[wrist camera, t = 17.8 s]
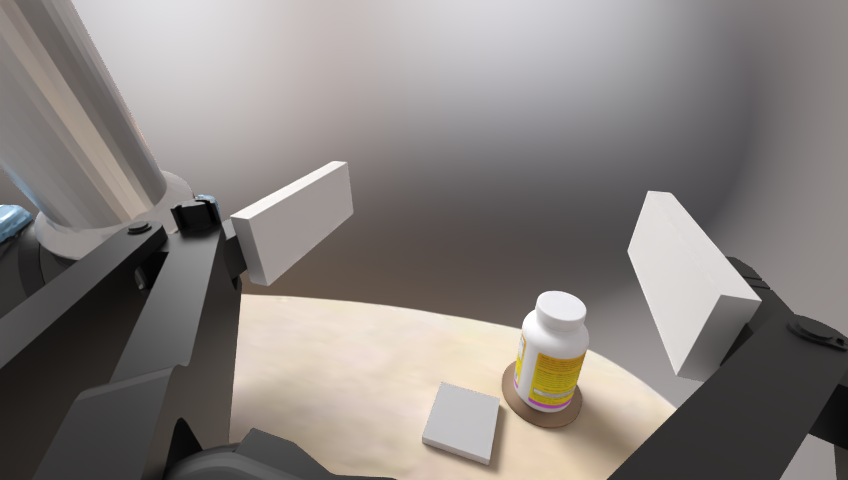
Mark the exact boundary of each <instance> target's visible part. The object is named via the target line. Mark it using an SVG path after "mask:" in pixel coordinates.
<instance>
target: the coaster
mask: <svg viewBox="0 0 848 480" xmlns="http://www.w3.org/2000/svg"><path fill="white" fill-rule="evenodd" d="M516 362H517V361H515V362H513V363H512V364H510V365H509V366H508V367H507V369H506V370H505V372H504V374H503V378H502V391H503V395H504V397H505V400H506V401H507V403H508V405H509V406H510V407H511V409H512V410H513V411H514V412H515V413H516V414H518V415H519V416H520V417H521V418H523V419H524V420H526V421H528V422H530V423H532V424H535V425H537V426H541V427H547V428H557V427H562V426H565V425H567V424H569V423H571V422H572V421H573V420H574V419H575V418H576V417H577V415H578V413H579V410H580V407H581V394H580V390H579V388H578V386H577V384H576V387H575V390H574V394H573V397H572V399H571V402H570V403H569V405H568V406H567V407H566V408H564V409H563V410H561V411H558V412H543V411H539V410H536V409H534V408H532V407H531V406H529V405H528V404H526V403H525V402H524V401H523V400H522V399H521V398H520V396H519V395H518V393H517V391H516V389H515V386H514V373H515V367H516Z"/></svg>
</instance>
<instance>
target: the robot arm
mask: <svg viewBox="0 0 848 480" xmlns="http://www.w3.org/2000/svg"><path fill="white" fill-rule="evenodd" d="M0 169H1V170H2V171H3V172H4V173H5V174H6V176H8V178H9V179H10V180H11V181H12V182H13V183H14V184H15V185H17V187H18V188H19V189H20V190H21V191H22V192H23V193H24V194H25V195H26V196H27V197H28V198H29V199H30V200H31V201H32V202H33V203H34V204H35V205H36V206H37V207H38V208H39V210H40V212H39V214H38V215H37V218H36V221H33V219H32V218H33V215H32V214H31V213H29V212H27V211H26V210H25V209H24V208H22V207H20V206H17V205H10V206H8V205H0V480H396V479H393V478H386V477H366V476H345V475H335V474H332V473H330V472H329V471H327V470H326V469H325V468H324V467H323V466H321V465H320V464H319V463H318V462H317V461H315V460H314V459H313V458H312V457H311V456H309V455H308V454H307V453H306V452H305V451H303V450H302V449H301V448H300V447H299V446H297V445H296V444H295V443H293V442H291V441H288V440H285V439H282V438H280V437H277V436H274V435H271V434H268V433H266V432H263V431H260V430H257V429H255V428H252V429H251V431H250V432H249V433H248V434H247V436H246V437H245V438H244V440H243V441H242V442H241V443H235V444H229V443H228V441H229V427H230V415H231V404H232V393H233V381H234V370H235V359H236V347H237V336H238V325H239V313H240V302H241V291H242V281H241V278H240V274H241V273H242V272H244V271H245V270H246V269H247V271H248V274H249V277H250V280H251V283H256V284H261V285H265V286H269V285H270V284H271V283H272V282H274V281H275V280H276V279H277V278H278V277H279V276H281V274H283V273H284V272H285V271H286V270H287V269H289V268H290V267H291V266H292V265H293V264H295V263H296V262H297V261H298V260H299V259H300V258H302V257H303V256H304V255H305V254H306V253H307V252H309V251H310V250H311V249H312V248H313V247H314V246H316V245H317V244H318V243H319V242H320V241H321V240H323V239H324V238H325V237H326V236H327V235H328V234H330V233H331V232H332V231H333V230H334V229H335V228H336V227H338V226H339V225H340V224H341V223H342V222H344V221H345V220H346V219H347V218H348V217H350V216H351V215H352V214H353V205H352V198H351V189H350V181H349V172H348V164H347V162H339V161H333V162H331V163H329V164H327V165H325V166H324V167H322V168H320V169H318V170H316V171H314V172H312V173H310V174H308V175H306V176H305V177H303V178H301V179H299V180H297V181H295V182H293V183H292V184H290V185H288V186H286V187H284V188H282V189H280V190H278V191H277V192H275V193H273V194H271V195H269V196H267V197H265V198H263V199H261V200H260V201H258V202H256V203H254V204H252V205H250V206H248V207H247V208H245V209H243V210H241V211H239V212H237V213H236V214H233V215H231V216H230V218H229V219H228V220H226V221H224V222H221V217H220V212H219V207H218V204H217V201H216V200H215V198H214V197H212V196H204V195H198V196H197V197H195V196H194V194H193V192H192V190H191V189H190V187H189V185H188V184H187V183H186V182H185V181H184V180H183V179H181V178H180V177H178V176H176V175H174V174H172V173H169V172H166V171H162V170H161V169H160V168H159V166H158V164H157V162H156V160H155V158H154V156H153V154H152V153H151V151H150V149H149V147H148V145H147V143H146V142H145V139H144V137H143V136H142V134H141V132H140V130H139V128H138V126H137V124H136V123H135V120H134V119H133V117H132V115H131V113H130V111H129V109H128V107H127V105H126V103H125V102H124V100H123V98H122V96H121V94H120V92H119V90H118V88H117V86H116V85H115V83H114V81H113V79H112V77H111V75H110V73H109V71H108V70H107V68H106V66H105V64H104V62H103V60H102V58H101V56H100V54H99V53H98V51H97V49H96V47H95V45H94V43H93V41H92V39H91V37H90V36H89V34H88V32H87V30H86V28H85V26H84V24H83V23H82V20H81V19H80V17H79V15H78V13H77V11H76V9H75V7H74V5H73V4H72V2H71V0H0ZM628 254H629V256H630V259H631V261H632V264H633V267H634V269H635V272H636V274H637V277H638V279H639V282H640V284H641V287H642V290H643V292H644V295H645V297H646V300H647V303H648V305H649V308H650V310H651V313H652V315H653V318H654V320H655V323H656V326H657V328H658V330H659V333H660V336H661V338H662V341H663V343H664V346H665V348H666V351H667V354H668V356H669V359H670V361H671V364H672V366H673V369H674V371H675V374H676V376H679V377H683V378H688V379H693V380H698V381H702V382H705V383H704V384H703V385H702V386H701V387H699V388H698V390H697V391H696V392H694V394H692V395H691V397H689V398H688V399H687V400H686V401H685V402H684V404H682V405H681V406H680V407H679V408H678V409H677V410H676V411H675V412H674V413H673V414H672V415H671V416H670V417H669V418H668V419H667V420H666V421H665V422H664V423H663V424H662V425H661V426H660V427H659V428H658V429H657V430H656V431H655V432H654V433H653V434H652V435H651V436H650V437H649V438H648V439H647V440H646V441H645V442H644V443H643V444H642V445H641V446H640V447H639V448H638V449H637V450H636V451H635V452H634V453H633V454H632V455H631V456H630V457H629V458H628V459H627V460H626V461H625V462H624V463H623V464H622V465H621V466H620V467H619V468H618V469H617V470H616V471H615V472H614V473H613V474H612V475H611V476H610V477H609V478H608V479H607V480H779V479H780V478H781V476H782V475H783V473H784V471H785V470H786V468H787V466H788V465H789V463H790V461H791V460H792V458H793V457H794V455H795V453H796V451H797V450H798V448H799V447H800V445H801V443H802V442H803V440H804V439H805V437H806V435H807V434H808V433H809V434H811V435H813V436H816V437H818V438H820V439H822V440H825V441H827V442H830V443H832V444H834V452H835V464H836V476H837V480H848V338H847V337H845V336H843V334H841V333H840V332H838V331H837V330H835V329H833V328H831V327H829V326H827V325H825V324H823V323H821V322H819V321H816V320H813V319H810V318H808V317H805V316H800V315H796V314H794V313H793V312H792V311H791V310H790V309H789V307H788V306H787V305H786V304H785V303H784V302H783V301H782V300H781V299H780V298H779V297H778V296H777V295H776V293H775V292H774V291H773V290H770V287H769V286H768V285H767V284H766V283H765V282H764V281H762V278H760V276H759V275H758V274H757V273H756V272H755V271H754V270H753V269H752V268H751V267H749V266H748V265H746V264H745V263H743V262H741V261H740V260H738V259H736V258H734V257H726V256H724V255H723V254H722V253H721V252H720V251H719V250H718V248H717V247H716V246H715V245H714V243H713V242H712V241H711V240H710V239H709V238H708V236H707V235H706V234H705V233H704V232H703V231H702V229H701V228H700V227H699V226H698V225H697V223H696V222H695V221H694V220H693V219H692V218H691V216H690V215H689V214H688V213H687V211H686V210H685V209H684V208H683V207H682V206H681V204H680V203H679V202H678V201H677V200H676V199H675V197H674V196H673V195H672V194H671V193H665V192H655V191H648V194H647V196H646V199H645V202H644V205H643V208H642V211H641V213H640V216H639V219H638V222H637V225H636V228H635V231H634V234H633V237H632V240H631V242H630V245H629V248H628Z"/></svg>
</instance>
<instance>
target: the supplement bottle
mask: <svg viewBox="0 0 848 480" xmlns="http://www.w3.org/2000/svg"><path fill="white" fill-rule="evenodd" d="M585 316H586V307H585V305H584V304H583V303H582V302H581V301H580V300H579V299H578V298H576V297H575V296H573V295H570V294H568V293H564V292H560V291H549V292H545V293H543V294H541V295H540V296H539V297H538V300H537V304H536V307H535V310H534V311H532V312H530V313H529V314H528V315H527V316H526V318H525V320H524V322H523V327H522V333H521V339H520V345H519V350H518V356H517V362H516V367H515V373H514V386H515V389H516V391H517V393H518V395H519V396H520V398H521V399H522V400H523V401H524V402H525V403H526V404H528V405H529V406H531V407H532V408H534V409H536V410H539V411H543V412H558V411H561V410H563V409H564V408H566V407H567V406H568V405H569V403H570V402H571V399H572V397H573V394H574V390H575V387H576V384H577V380H578V377H579V374H580V371H581V367H582V364H583V361H584V357H585V354H586V351H587V348H588V344H589V335H588V331H587V329H586V327H585V325H584V324H583V322H584V320H585Z"/></svg>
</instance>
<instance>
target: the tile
mask: <svg viewBox="0 0 848 480" xmlns="http://www.w3.org/2000/svg"><path fill="white" fill-rule="evenodd" d="M499 402H500V398H496V397H493V396H489V395H486V394H482V393H479V392H475V391H472V390H468V389H465V388H461V387H458V386H454V385H451V384H447V383H444V382H441V384H440V387H439V390H438V393H437V396H436V399H435V401H434V404H433V407H432V410H431V413H430V416H429V418H428V421H427V424H426V427H425V430H424V433H423V435H422V443H425V444H428V445H431V446H434V447H437V448H439V449H442V450H445V451H448V452H451V453H454V454H457V455H459V456H462V457H465V458H468V459H471V460H474V461H477V462H479V463H482V464H485V465H488V466H489V462H490V456H491V450H492V444H493V438H494V432H495V426H496V420H497V414H498V408H499Z"/></svg>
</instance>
